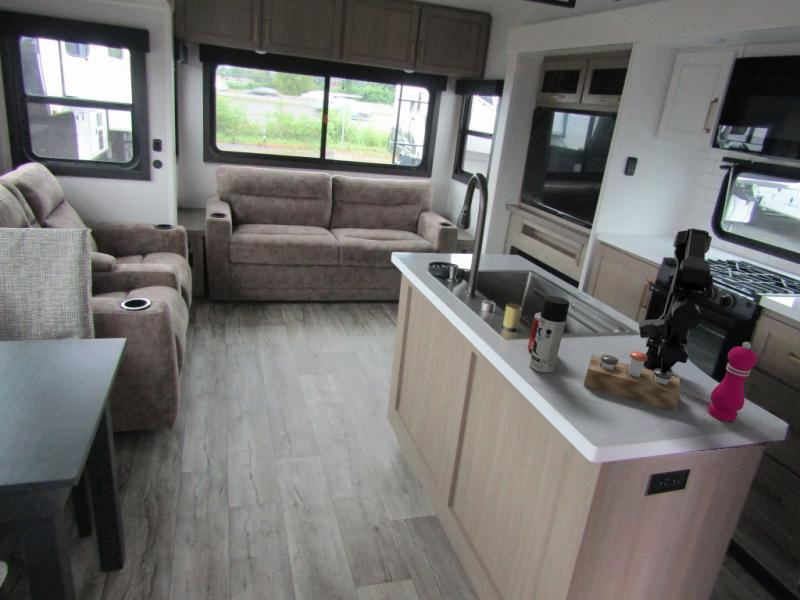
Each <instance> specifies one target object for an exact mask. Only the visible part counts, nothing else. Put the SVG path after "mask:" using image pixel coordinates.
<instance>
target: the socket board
mask: <svg viewBox="0 0 800 600" xmlns="http://www.w3.org/2000/svg"><path fill="white" fill-rule="evenodd" d="M629 364H630V363H625V362H621V361H618V363H617V364H616V365H614V369H613V370H610V369H606V368H603V367H601V365H602V361H601V356H598V355H595V354H592V355H591V357H590V361H589V364H588V367H587V371H586V375H585V379H584V382H583V386H584V387H587V388H591V389H595V390H598V391H601V392H605V393H608V394H612V395H615V396H619V397H622V398H626V399H630V400H633V401H637V402H640V403H643V404H647V405H650V406H654V407H658V408H661V409H664V410H667V411H670V412H676V410H677V407H678V406H677V405H678V403H679V400H680V396H681V390H680V385H681V382H680V377H678V376H674V375H672V377H671V379H669V380H668V384H667V385H665V384H661V383H658V382H654V381H653V380H654V377H655V375H654V371H652V370H650V369H649V368H644V367H643V368H642V371H641V375H640V378H639V377H636V376H632V375H628V374H627V371H628V368H629Z"/></svg>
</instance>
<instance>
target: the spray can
mask: <svg viewBox="0 0 800 600" xmlns="http://www.w3.org/2000/svg"><path fill="white" fill-rule="evenodd" d="M570 305H571V304H570V301H569V300H568V299H566V298H564V297H560V296H553V295H547V296H544V299H543V303H542V307H541V310H540V311H541V315H540V319H539V324H538V328H537V333H536V337H535V342H534V346H533V351H532V353H531V356H530V360H529V365H530V368H531V369H532V370H533V371H535V372H537V373H541V374H551V373H553V371H554V370H555V367H556V364H557V358H558V354H559V350H560V346H561V342H562V338H563V334H564V330H565V325H566V321H567V317H568V312H569V307H570Z"/></svg>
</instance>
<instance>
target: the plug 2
mask: <svg viewBox="0 0 800 600" xmlns="http://www.w3.org/2000/svg"><path fill="white" fill-rule="evenodd" d="M654 375H655V377H654V380H653V381H654V382H658V383H661V384H665V385H667V384H668V380H669V379H671V377H672V376H673V374H672V372H671V371H668V372H667V373H661V369H655V370H654Z"/></svg>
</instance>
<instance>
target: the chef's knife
mask: <svg viewBox="0 0 800 600" xmlns="http://www.w3.org/2000/svg"><path fill="white" fill-rule="evenodd" d="M680 392H683V393H685V394H687V395H690V396H693V397H695V398H697V399H699V400H703V401H706V402H709V403H712V401H711V399H709V398H707V397H705V396H703V395H701V394H699V393H697V392H695V391H693V390H691V389H689V388H686V387H685V386H683V385H681V384H680Z"/></svg>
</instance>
